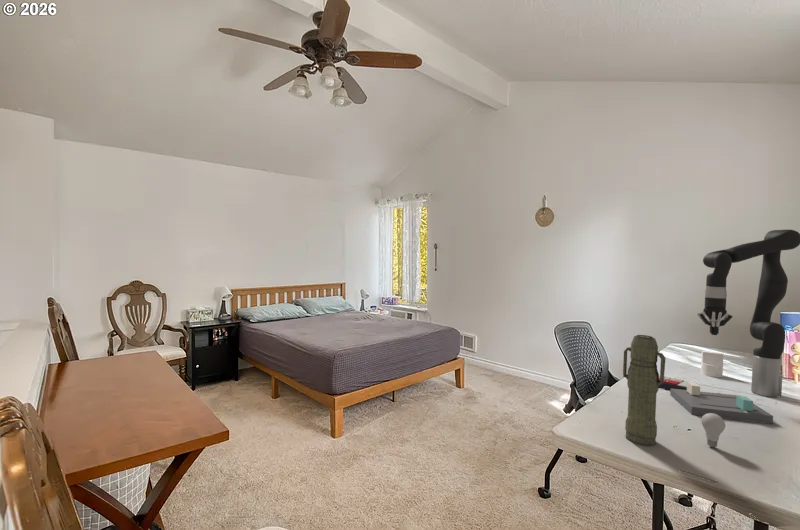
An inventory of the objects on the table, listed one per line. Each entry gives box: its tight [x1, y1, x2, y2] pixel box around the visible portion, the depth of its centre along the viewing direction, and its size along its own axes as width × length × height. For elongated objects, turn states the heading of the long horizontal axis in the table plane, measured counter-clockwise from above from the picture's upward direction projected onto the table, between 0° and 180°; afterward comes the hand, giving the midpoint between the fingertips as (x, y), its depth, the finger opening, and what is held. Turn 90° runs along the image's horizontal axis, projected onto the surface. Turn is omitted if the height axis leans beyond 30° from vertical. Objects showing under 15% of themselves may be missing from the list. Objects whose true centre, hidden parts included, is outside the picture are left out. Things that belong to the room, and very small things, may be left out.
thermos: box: [622, 334, 666, 447], centre depth 130 cm, size 9×12×35 cm
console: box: [669, 389, 774, 424], centre depth 160 cm, size 26×22×3 cm
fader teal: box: [736, 395, 754, 411], centre depth 152 cm, size 3×5×4 cm, turn 163°
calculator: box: [658, 375, 695, 391], centre depth 184 cm, size 11×4×15 cm
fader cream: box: [687, 381, 701, 396], centre depth 168 cm, size 3×5×4 cm, turn 164°
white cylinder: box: [700, 350, 724, 378], centre depth 206 cm, size 9×9×12 cm
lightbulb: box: [700, 413, 726, 449], centre depth 127 cm, size 6×6×11 cm
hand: (713, 334), depth 176 cm, fingers closed
